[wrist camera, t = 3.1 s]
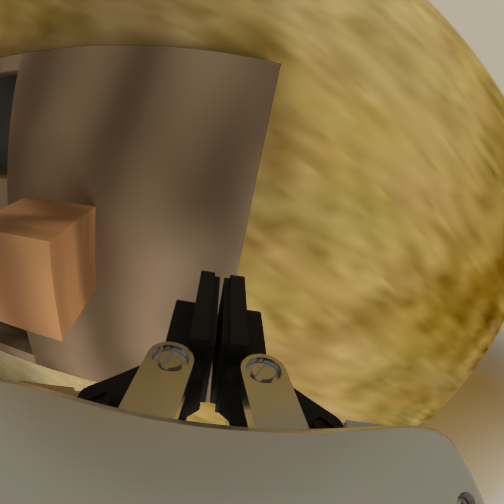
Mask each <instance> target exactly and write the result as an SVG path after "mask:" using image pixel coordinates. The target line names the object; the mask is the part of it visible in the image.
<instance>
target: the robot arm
mask: <svg viewBox="0 0 504 504" xmlns="http://www.w3.org/2000/svg"><path fill="white" fill-rule="evenodd" d="M219 287H220V277H218V276H215V272H209V271H203V270H202V271H201V276H200V281H199V287H198V292H197V297H196V303H195V302H189V301H183V300H177V301H176V304H175V307H174V311H173V315H172V319H171V322H170V326H169V330H168V334H167V338H166V342H161V343H157V344H155V345H154V346H152V347H151V348H150V349H149V350H148V352H147V354H146V356H145V358H144V359H143V361H142V363H141V365H140V366H137V367H135V368H133V369H130V370H128V371H125V372H123V373H121V374H118V375H116V376H113V377H111V378H108V379H106V380H103V381H101V382H98V383H96V384H93V385H91V386H88V387H86V388H85V389H83V390H82V391H75V390H74V388H73V387H63V386H54V385H46V384H39V383H32V382H25V381H18V382H16V381H10V380H0V504H484V502H483V500H482V497H481V495H480V492H479V490H478V487H477V485H476V483H475V481H474V478H473V476H472V474H471V472H470V470H469V468H468V466H467V464H466V462H465V460H464V458H463V456H462V455H461V453H460V451H459V450H458V448H457V447H456V445H455V444H454V443H453V442H452V440H451V439H450V438H449V437H448V436H447V435H445V434H443V433H442V432H439V431H437V430H434V429H430V428H425V427H421V426H411V425H381V424H372V423H364V422H356V421H349V420H346V422H345V423H342V422H341V421H340V420H339V419H338V418H337V417H336V416H334V415H333V414H331V413H330V412H328V411H327V410H325V409H324V408H322V407H321V406H319V405H318V404H316V403H315V402H313V401H312V400H310V399H309V398H307V397H306V396H304V395H303V394H302V393H300V392H299V391H297V390H296V389H294V388H293V386H292V383H291V381H290V378H289V376H288V373H287V371H286V368H285V367H284V365H283V364H282V363H281V362H280V361H279V360H278V359H276V358H274V357H272V356H269V355H266V348H265V341H264V333H263V326H262V318H261V313H260V312H258V311H250V310H247V307H246V292H245V278H244V277H242V276H235V275H230V278H224V282H223V288H222V293H221V299H220V304H219V310H218V302H219ZM211 367H212V375H211V393H210V403H214V404H216V407H215V412H219V413H220V414H221V415H222V416H223V417H224V418H225V419H226V425H216V424H207V423H199V422H191V421H188V416H189V415H191V414H192V413H194V412H196V411H198V410H199V407H200V402H206V396H207V390H208V384H209V378H210V373H211Z"/></svg>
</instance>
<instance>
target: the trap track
mask: <svg viewBox="0 0 504 504" xmlns="http://www.w3.org/2000/svg"><path fill="white" fill-rule="evenodd" d="M280 66H281V64H280V63H275V62H271V61H266V60H261V59H257V58H251V57H246V56H241V55H235V54H229V53H222V52H215V51H208V50H199V49H190V48H180V47H167V46H148V45H98V46H80V47H68V48H58V49H49V50H41V51H35V52H28V53H22V54H17V55H12V56H7V57H2V58H0V209H2V208H4V207H6V206H8V205H10V204H12V203H14V202H16V201H18V200H20V199H22V198H24V197H26V198H34V199H42V200H50V201H58V202H66V203H74V204H81V205H89V206H96V219H95V265H96V290H95V292H94V293H93V295H92V296H91V298H90V299H89V301H88V302H87V304H86V305H85V307H84V308H83V310H82V311H81V313H80V314H79V316H78V318H77V319H76V321H75V322H74V324H73V325H72V327H71V329H70V330H69V332H68V333H67V335H66V337H65V338H64V340H63V341H59V340H56V339H52V338H49V337H46V336H42V335H39V334H36V333H33V332H29V331H26V330H23V329H20V328H17V327H14V326H11V325H9V324H6V323H3V322H0V350H1V351H3V352H6V353H8V354H11V355H13V356H16V357H19V358H21V359H24V360H27V361H30V362H32V363H35V364H38V365H41V366H44V367H47V368H50V369H54V370H57V371H60V372H63V373H67V374H70V375H74V376H77V377H81V378H84V379H88V380H92V381H96V382H101V381H103V380H106V379H108V378H111V377H113V376H116V375H118V374H121V373H123V372H125V371H128V370H130V369H133V368H135V367H137V366H140V365H141V363H142V361H143V359H144V358H145V356H146V354H147V352H148V350H149V349H150V348H151V347H152V346H154V345H155V344H157V343H161V342H166V338H167V334H168V330H169V326H170V322H171V319H172V315H173V311H174V307H175V304H176V301H177V300H183V301H189V302H195V303H196V297H197V292H198V287H199V281H200V276H201V271H202V270H203V271H209V272H215V276H218V277H220V287H219V302H218V310H219V304H220V299H221V293H222V288H223V282H224V278H230V275H235V276H236V275H237V270H238V265H239V260H240V255H241V250H242V245H243V240H244V236H245V231H246V226H247V221H248V216H249V211H250V206H251V202H252V197H253V192H254V187H255V182H256V177H257V173H258V168H259V163H260V158H261V154H262V149H263V144H264V140H265V135H266V130H267V126H268V121H269V116H270V112H271V107H272V102H273V98H274V93H275V88H276V84H277V79H278V75H279V70H280ZM211 375H212V367H211V373H210V378H209V384H208V390H207V396H206V402H210V393H211Z"/></svg>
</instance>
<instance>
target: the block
mask: <svg viewBox="0 0 504 504" xmlns="http://www.w3.org/2000/svg"><path fill="white" fill-rule="evenodd" d="M95 219H96V206H89V205H81V204H74V203H66V202H58V201H50V200H42V199H34V198H26V197H24V198H22V199H20V200H18V201H16V202H14V203H12V204H10V205H8V206H6V207H4V208H2V209H0V322H3V323H6V324H9V325H11V326H14V327H17V328H20V329H23V330H26V331H29V332H33V333H36V334H39V335H42V336H46V337H49V338H52V339H56V340H59V341H63V340H64V338H65V337H66V335H67V333H68V332H69V330H70V329H71V327H72V325H73V324H74V322H75V321H76V319H77V318H78V316H79V314H80V313H81V311H82V310H83V308H84V307H85V305H86V304H87V302H88V301H89V299H90V298H91V296H92V295H93V293H94V292H95V290H96V265H95Z"/></svg>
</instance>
